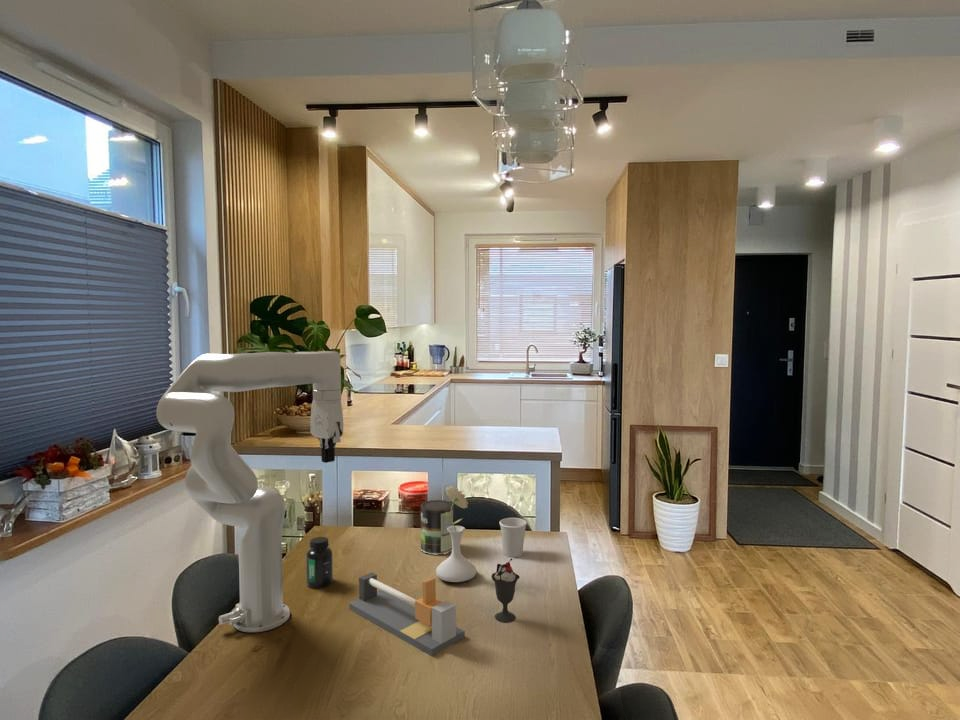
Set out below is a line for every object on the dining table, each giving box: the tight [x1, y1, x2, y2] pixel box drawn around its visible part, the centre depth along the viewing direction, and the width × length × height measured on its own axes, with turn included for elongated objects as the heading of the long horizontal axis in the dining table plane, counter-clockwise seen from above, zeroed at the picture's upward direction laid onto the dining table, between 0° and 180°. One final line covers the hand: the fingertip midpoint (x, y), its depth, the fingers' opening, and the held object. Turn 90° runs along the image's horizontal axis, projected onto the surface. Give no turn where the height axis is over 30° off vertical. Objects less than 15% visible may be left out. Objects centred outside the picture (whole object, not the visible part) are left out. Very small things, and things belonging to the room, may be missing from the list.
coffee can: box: [419, 499, 454, 555], centre depth 180 cm, size 10×10×14 cm
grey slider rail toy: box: [348, 572, 466, 657], centre depth 136 cm, size 30×10×8 cm, turn 47°
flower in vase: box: [435, 485, 478, 583], centre depth 160 cm, size 13×11×25 cm
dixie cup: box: [499, 517, 528, 559], centre depth 176 cm, size 8×8×10 cm
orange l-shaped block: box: [415, 576, 443, 626], centre depth 129 cm, size 5×4×9 cm
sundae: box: [491, 557, 521, 623], centre depth 138 cm, size 7×7×15 cm
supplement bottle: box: [305, 536, 334, 589], centre depth 156 cm, size 7×7×12 cm
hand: (328, 461), depth 160 cm, fingers closed
